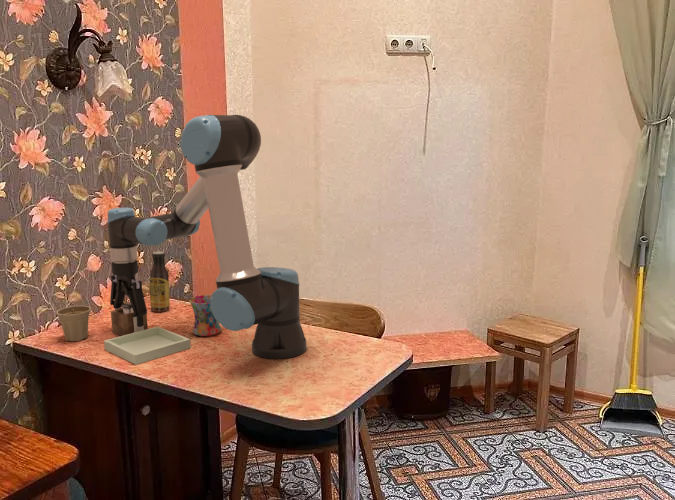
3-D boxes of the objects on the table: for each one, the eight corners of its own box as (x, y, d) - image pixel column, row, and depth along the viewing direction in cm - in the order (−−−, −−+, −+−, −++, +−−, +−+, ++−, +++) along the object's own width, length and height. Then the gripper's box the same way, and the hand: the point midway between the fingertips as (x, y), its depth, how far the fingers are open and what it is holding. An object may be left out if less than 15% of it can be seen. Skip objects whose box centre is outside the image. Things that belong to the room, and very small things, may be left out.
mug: (206, 340, 193) (204, 305, 190) (184, 334, 198) (182, 300, 196) (235, 329, 202) (234, 295, 200) (213, 324, 207) (212, 291, 205)
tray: (190, 348, 186) (190, 339, 186) (135, 364, 175) (135, 355, 174) (158, 334, 198) (157, 326, 198) (104, 349, 186) (104, 340, 186)
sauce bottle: (147, 312, 220) (143, 254, 216) (155, 307, 226) (151, 250, 222) (166, 313, 219) (162, 254, 215) (173, 307, 225) (170, 250, 221)
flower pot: (53, 338, 196) (50, 310, 194) (84, 330, 203) (81, 303, 201) (68, 345, 190) (65, 316, 188) (99, 337, 196) (96, 309, 194)
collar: (148, 332, 200) (146, 310, 198) (125, 339, 194) (123, 316, 193) (135, 327, 205) (133, 305, 203) (112, 333, 200) (110, 311, 198)
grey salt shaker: (138, 333, 200) (136, 304, 198) (127, 336, 197) (125, 306, 195) (132, 330, 202) (130, 301, 200) (121, 333, 200) (119, 304, 198)
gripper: (156, 264, 190) (161, 337, 194) (117, 253, 205) (122, 321, 210) (132, 268, 185) (138, 344, 189) (94, 257, 200) (100, 327, 205)
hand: (130, 332), depth 200 cm, fingers open, 10 cm apart
